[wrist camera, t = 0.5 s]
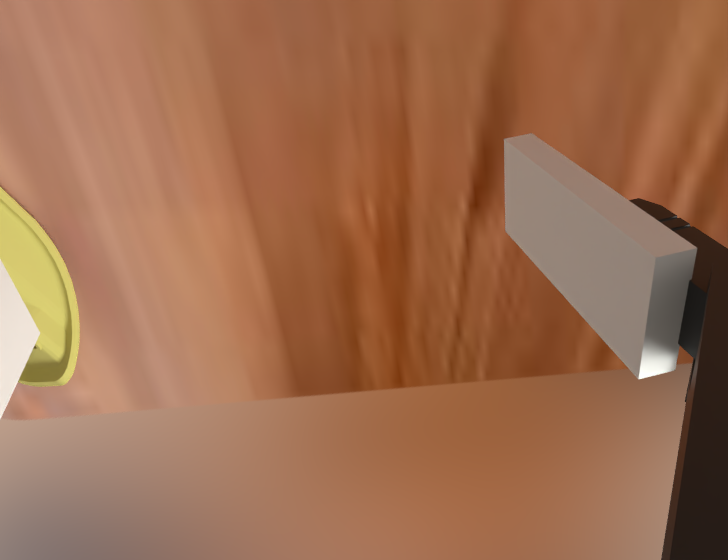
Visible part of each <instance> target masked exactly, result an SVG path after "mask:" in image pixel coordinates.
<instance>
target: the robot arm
mask: <svg viewBox="0 0 728 560" xmlns="http://www.w3.org/2000/svg"><path fill="white" fill-rule="evenodd" d="M504 162H505V231H506V232H507V233H508V234H509V236H510V237H511V238H512V239H513V240H514V241H515V242H516V243H517V245H518V246H519V247H520V248H521V249H522V250H523V251H524V252H525V253H526V255H527V256H528V257H529V258H530V259H531V260H532V261H533V262H534V263H535V265H536V266H537V267H538V268H539V269H540V270H541V271H542V272H543V273H544V275H545V276H546V277H547V278H548V279H549V280H550V281H551V282H552V283H553V285H554V286H555V287H556V288H557V289H558V290H559V291H560V292H561V294H562V295H563V296H564V297H565V298H566V299H567V300H568V301H569V302H570V304H571V305H572V306H573V307H574V308H575V309H576V310H577V311H578V312H579V314H580V315H581V316H582V317H583V318H584V319H585V320H586V321H587V322H588V324H589V325H590V326H591V327H592V328H593V329H594V330H595V331H596V332H597V334H598V335H599V336H600V337H601V338H602V339H603V340H604V341H605V343H606V344H607V345H608V346H609V347H610V348H611V349H612V350H613V351H614V353H615V354H616V355H617V356H618V357H619V358H620V359H621V360H622V361H623V363H624V364H625V365H626V366H627V367H628V368H629V369H630V370H631V371H632V372H633V374H634V375H635V376H636V377H637V378H638V379H641V378H646V377H649V376H654V375H658V374H661V373H666V372H670V371H673V370H675V368H676V362H677V357H678V351H679V346H681V347H682V348H683V349H684V350H686V351H687V352H688V353H689V354H690V355H691V356H692V357H693V358H694V359H693V364H692V369H691V375H690V379H689V384H688V389H687V394H686V399H685V402H686V406H685V412H684V419H683V425H682V431H681V438H680V444H679V450H678V457H677V463H676V469H675V476H674V482H673V488H672V495H671V501H670V507H669V514H668V520H667V526H666V533H665V539H664V545H663V552H662V558H661V560H728V249H727V248H726V247H724V246H723V245H721V244H719V243H718V242H716V241H715V240H713V239H712V238H710V237H709V236H707V235H706V234H704V233H703V232H701V231H700V230H698V229H696V228H695V227H690V224H689V223H687V222H686V221H684V220H683V219H681V218H677V215H675V214H673V213H672V212H670V211H669V210H667V209H666V208H664V207H663V206H661V205H658V204H655V203H652V202H649V201H646V200H643V199H639V198H638V199H633V200H627V199H626V198H624V197H623V196H622V195H620V194H619V193H617V192H616V191H614V190H613V189H611V188H610V187H609V186H607V185H606V184H604V183H603V182H601V181H600V180H598V179H597V178H596V177H594V176H593V175H591V174H590V173H588V172H587V171H585V170H584V169H583V168H581V167H580V166H578V165H577V164H575V163H574V162H572V161H571V160H570V159H568V158H567V157H565V156H564V155H562V154H561V153H559V152H558V151H557V150H555V149H554V148H552V147H551V146H549V145H548V144H546V143H545V142H544V141H542V140H541V139H539V138H538V137H536V136H535V135H533V134H532V133H531V134H526V135H521V136H516V137H511V138H506V139H504ZM39 335H40V332H39V330H38V328H37V326H36V324H35V322H34V320H33V319H32V317H31V315H30V313H29V311H28V309H27V307H26V306H25V304H24V302H23V300H22V298H21V296H20V294H19V293H18V291H17V289H16V287H15V285H14V283H13V281H12V280H11V278H10V276H9V274H8V272H7V270H6V268H5V267H4V265H3V263H2V261H1V259H0V419H1V417H2V415H3V412H4V410H5V408H6V406H7V404H8V402H9V399H10V397H11V395H12V393H13V391H14V389H15V387H16V384H17V382H18V380H19V378H20V376H21V374H22V372H23V369H24V367H25V365H26V363H27V361H28V359H29V356H30V354H31V352H32V350H33V348H34V346H35V344H36V341H37V339H38V337H39Z"/></svg>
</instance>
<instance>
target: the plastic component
mask: <svg viewBox="0 0 728 560" xmlns="http://www.w3.org/2000/svg"><path fill="white" fill-rule="evenodd" d="M0 259H1V261H2V263H3V265H4V267H5V268H6V270H7V272H8V274H9V276H10V278H11V280H12V281H13V283H14V285H15V287H16V289H17V291H18V293H19V294H20V296H21V298H22V300H23V302H24V304H25V306H26V307H27V309H28V311H29V313H30V315H31V317H32V319H33V320H34V322H35V324H36V326H37V328H38V330H39V332H40V335H39V337H38V339H37V341H36V344H35V346H34V348H33V350H32V352H31V354H30V356H29V359H28V361H27V363H26V365H25V367H24V369H23V372H22V374H21V376H20V378H19V380H18V382H19V383H22V384H25V385H30V386H38V387H43V386H60V385H64V384H66V383H67V382H68V381H69V379H70V378H71V376H72V374H73V372H74V369H75V365H76V360H77V355H78V348H79V334H80V325H79V312H78V306H77V300H76V295H75V291H74V287H73V284H72V281H71V278H70V275H69V273H68V270H67V268H66V265H65V263H64V261H63V259H62V257H61V256H60V254H59V252H58V250H57V248H56V247H55V245H54V244H53V242H52V241H51V239H50V238H49V237H48V235H47V234H46V233H45V231H44V230H43V229H42V228H41V226H40V225H39V224H38V223H37V221H36V220H35V219H34V218H32V217H31V216H30V215H29V214H28V213H27V212H26V211H25V210H24V209H23V208H22V207H21V206H20V205H19V204H18V203H17V202H16V201H15V200H14V199H13V198H11V197H10V196H9V195H8V194H7V193H6V192H5V191H4V190H3V189H2V188H1V187H0Z"/></svg>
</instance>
